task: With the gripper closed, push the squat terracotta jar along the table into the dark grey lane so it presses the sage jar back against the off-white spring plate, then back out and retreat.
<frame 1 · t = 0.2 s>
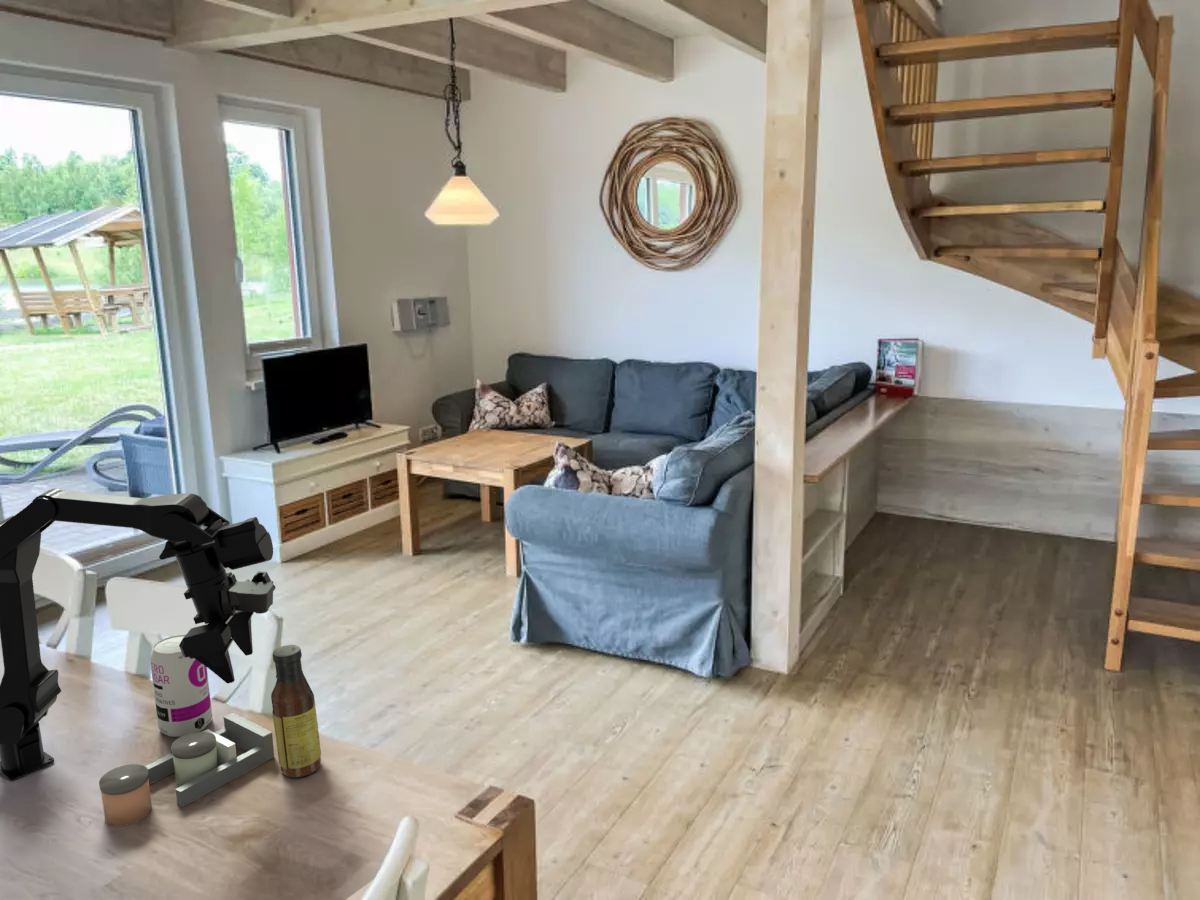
hand: (240, 668, 140), 15 cm above the table, tool pointing down, fingers open, 9 cm apart
supplement can: (186, 727, 153), on the table
jar terracotta: (128, 812, 130), on the table
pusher: (219, 750, 141), point 2 cm above the table, slide at 0.0 cm
sauce bottle: (300, 769, 141), on the table
lane: (205, 772, 140), on the table
jar sage: (197, 776, 139), resting in lane
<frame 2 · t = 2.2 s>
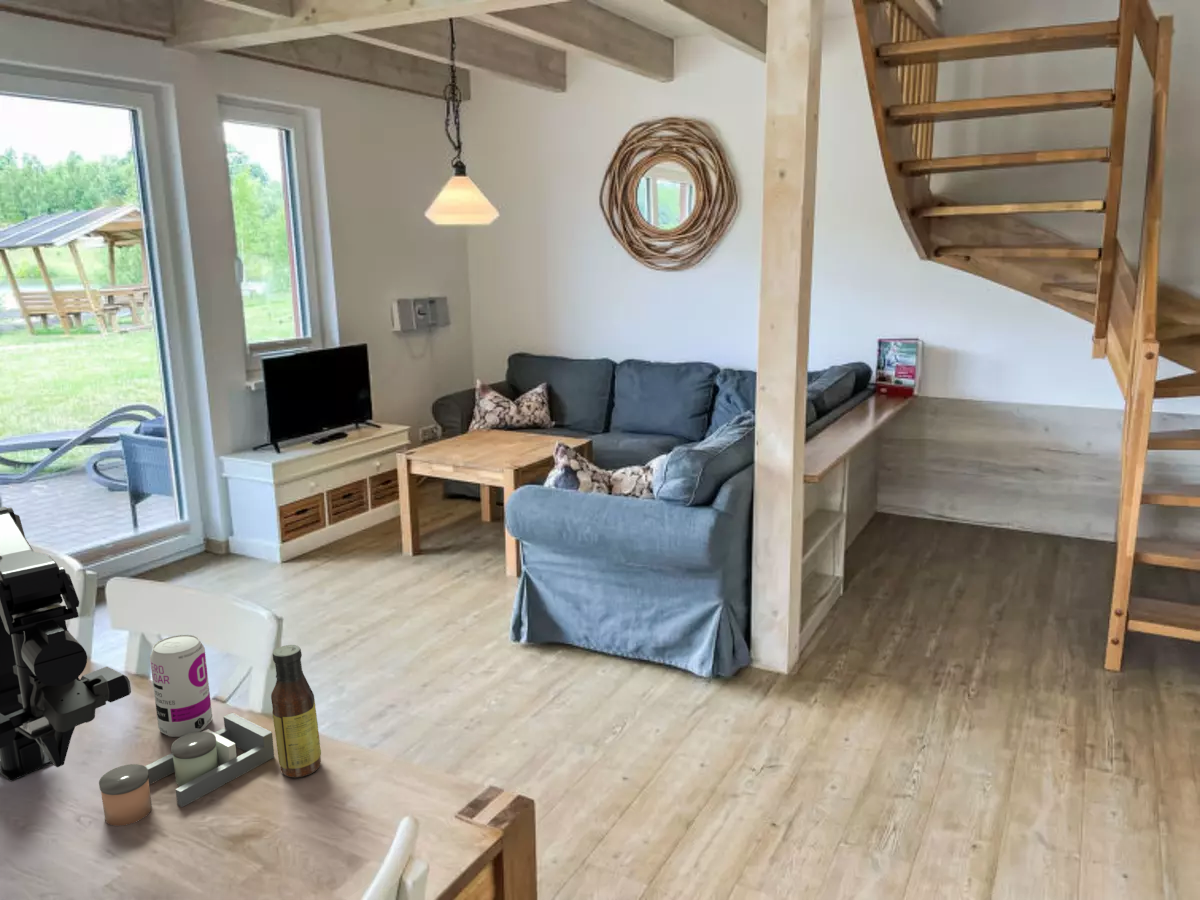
hand: (58, 765, 121), 12 cm above the table, tool pointing down, fingers closed
nothing on the table moved.
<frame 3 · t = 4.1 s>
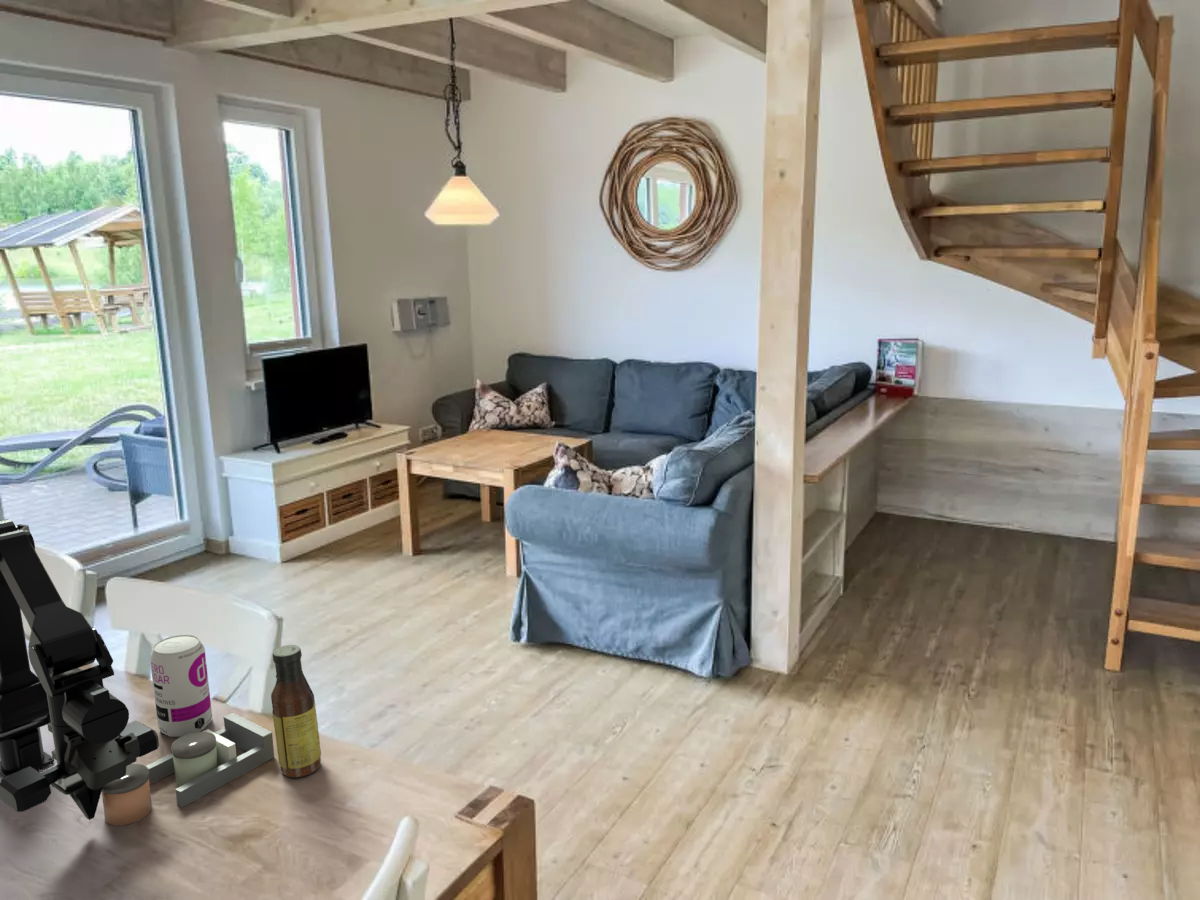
hand: (90, 818, 125), 2 cm above the table, tool pointing down, fingers closed
jar terracotta: (128, 812, 130), on the table, touching gripper
everything else where it was.
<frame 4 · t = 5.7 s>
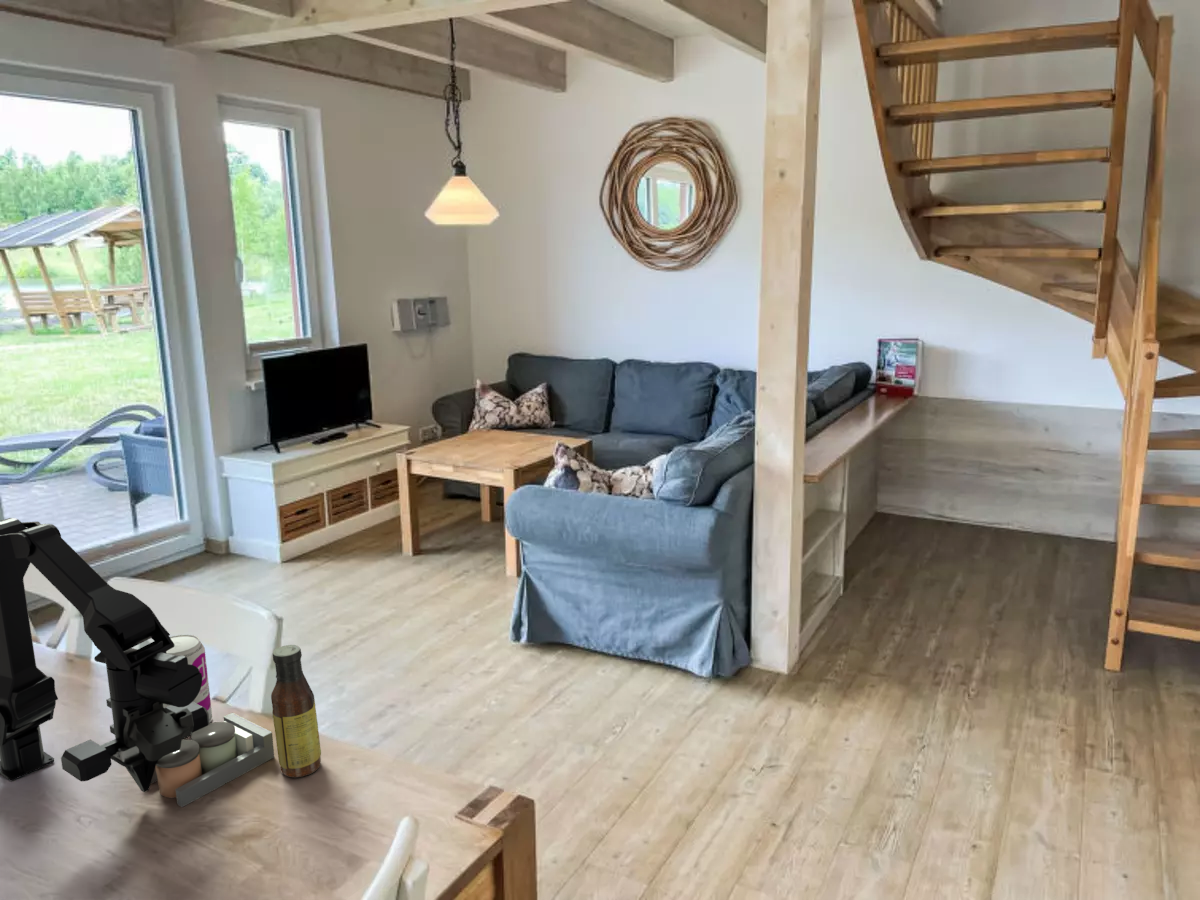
hand: (144, 790, 132), 2 cm above the table, tool pointing down, fingers closed
jar terracotta: (181, 785, 136), on the table, touching gripper, jar sage
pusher: (236, 741, 144), point 2 cm above the table, slide at 3.0 cm, touching jar sage
jar sage: (216, 765, 141), resting in lane, touching jar terracotta, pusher
everything else where it was.
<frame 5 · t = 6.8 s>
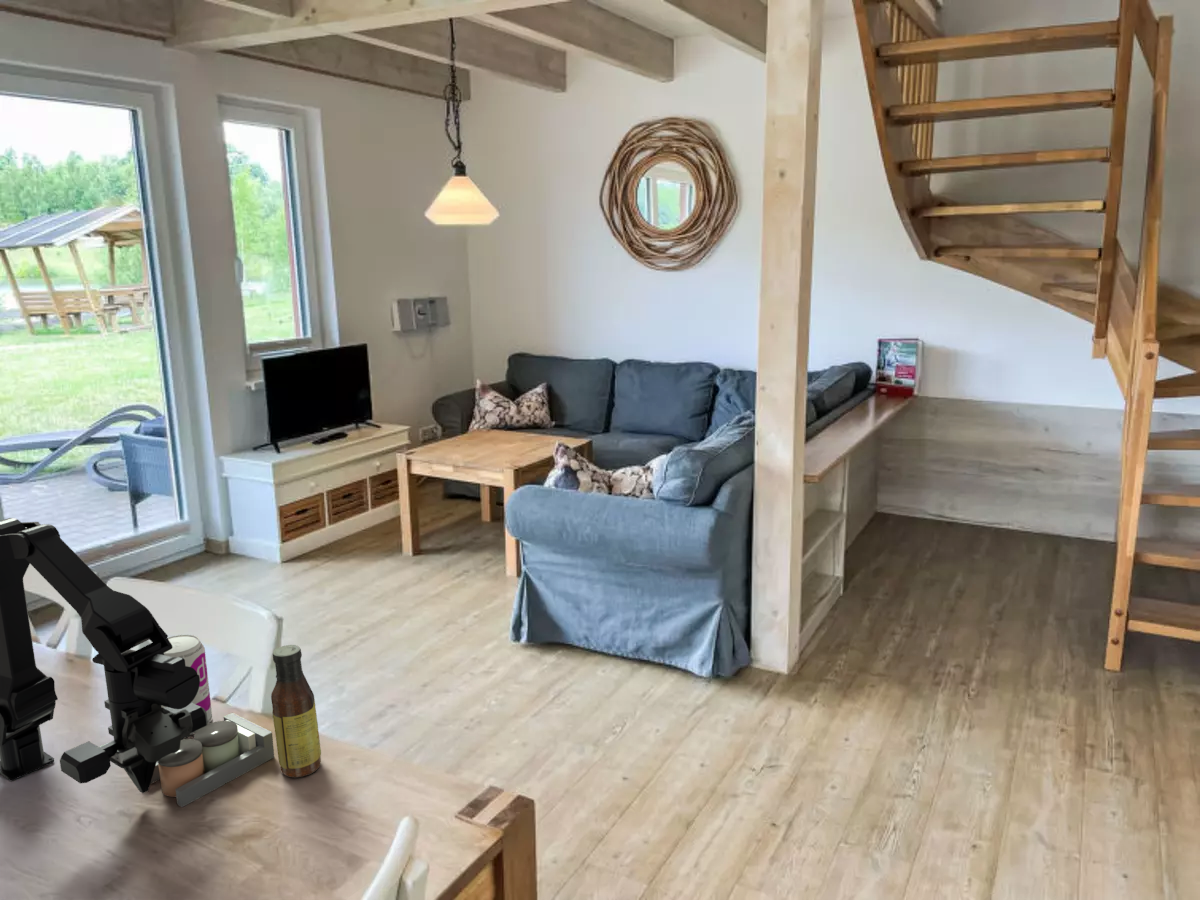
hand: (143, 791, 132), 2 cm above the table, tool pointing down, fingers closed
jar terracotta: (183, 784, 137), on the table, touching jar sage
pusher: (238, 740, 144), point 2 cm above the table, slide at 3.4 cm, touching jar sage
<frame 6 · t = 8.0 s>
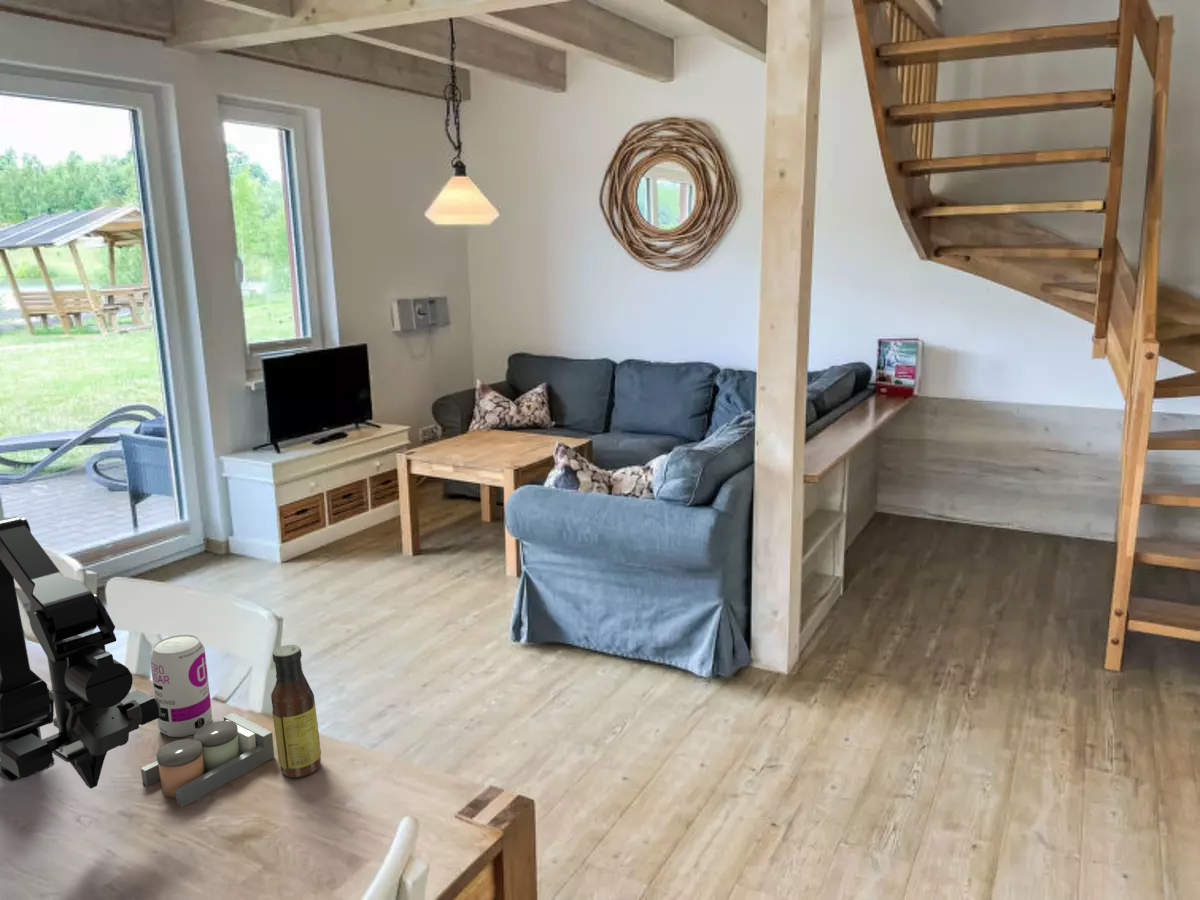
hand: (92, 786, 125), 7 cm above the table, tool pointing down, fingers closed
nothing on the table moved.
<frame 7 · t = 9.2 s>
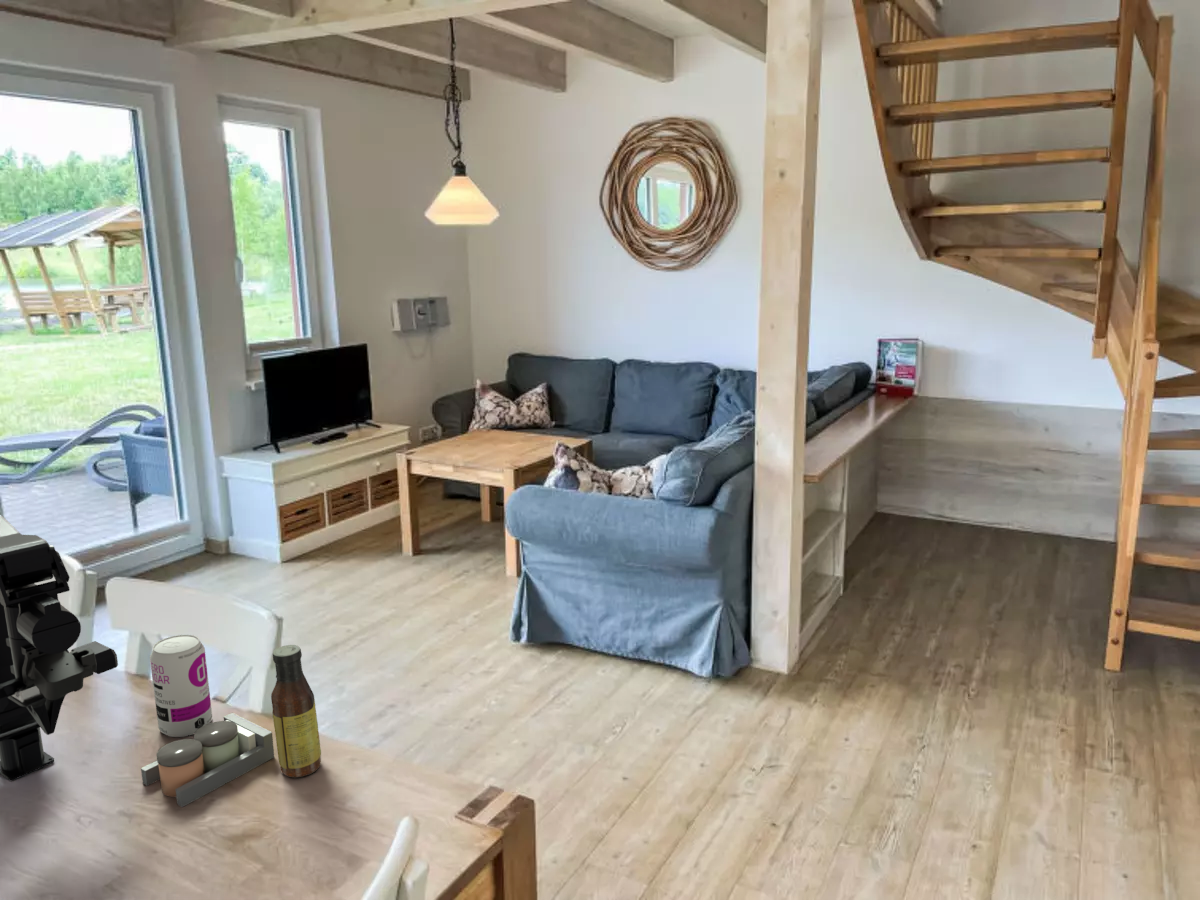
hand: (49, 733, 128), 12 cm above the table, tool pointing down, fingers closed
nothing on the table moved.
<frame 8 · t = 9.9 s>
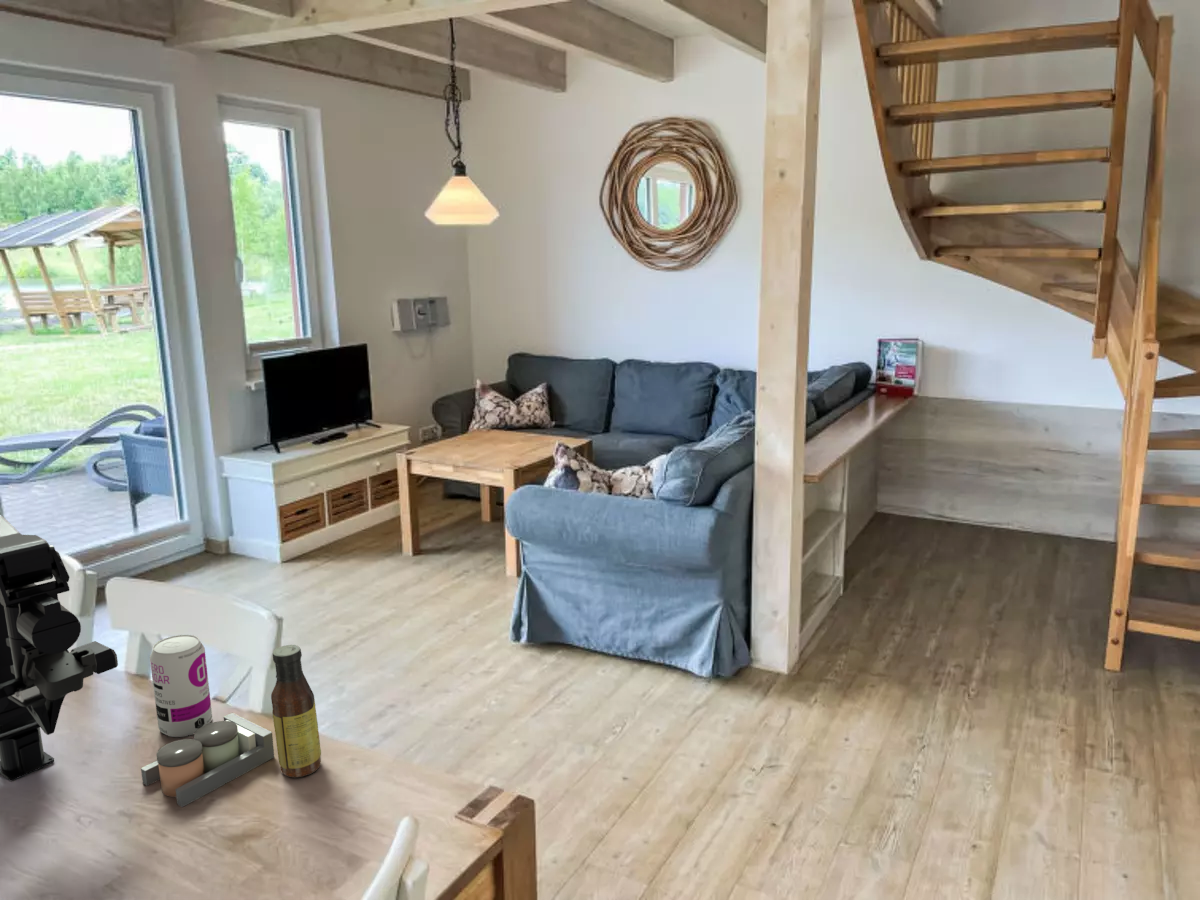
hand: (49, 733, 128), 12 cm above the table, tool pointing down, fingers closed
nothing on the table moved.
at the end: jar terracotta inside the target area on the lane (2.2 cm from its centre), point 0.0 cm above the lane's base; jar terracotta 6.2 cm from the jar sage (horizontally); jar terracotta tilted 0° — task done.
